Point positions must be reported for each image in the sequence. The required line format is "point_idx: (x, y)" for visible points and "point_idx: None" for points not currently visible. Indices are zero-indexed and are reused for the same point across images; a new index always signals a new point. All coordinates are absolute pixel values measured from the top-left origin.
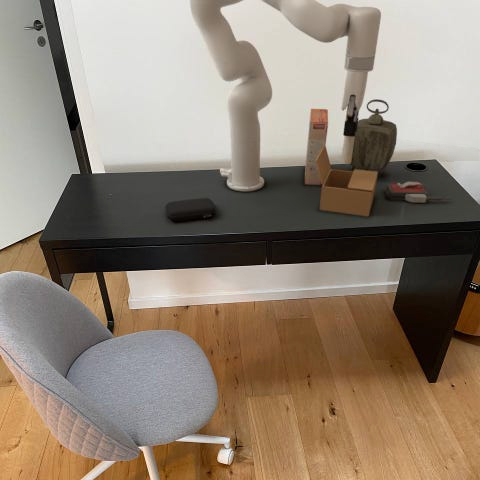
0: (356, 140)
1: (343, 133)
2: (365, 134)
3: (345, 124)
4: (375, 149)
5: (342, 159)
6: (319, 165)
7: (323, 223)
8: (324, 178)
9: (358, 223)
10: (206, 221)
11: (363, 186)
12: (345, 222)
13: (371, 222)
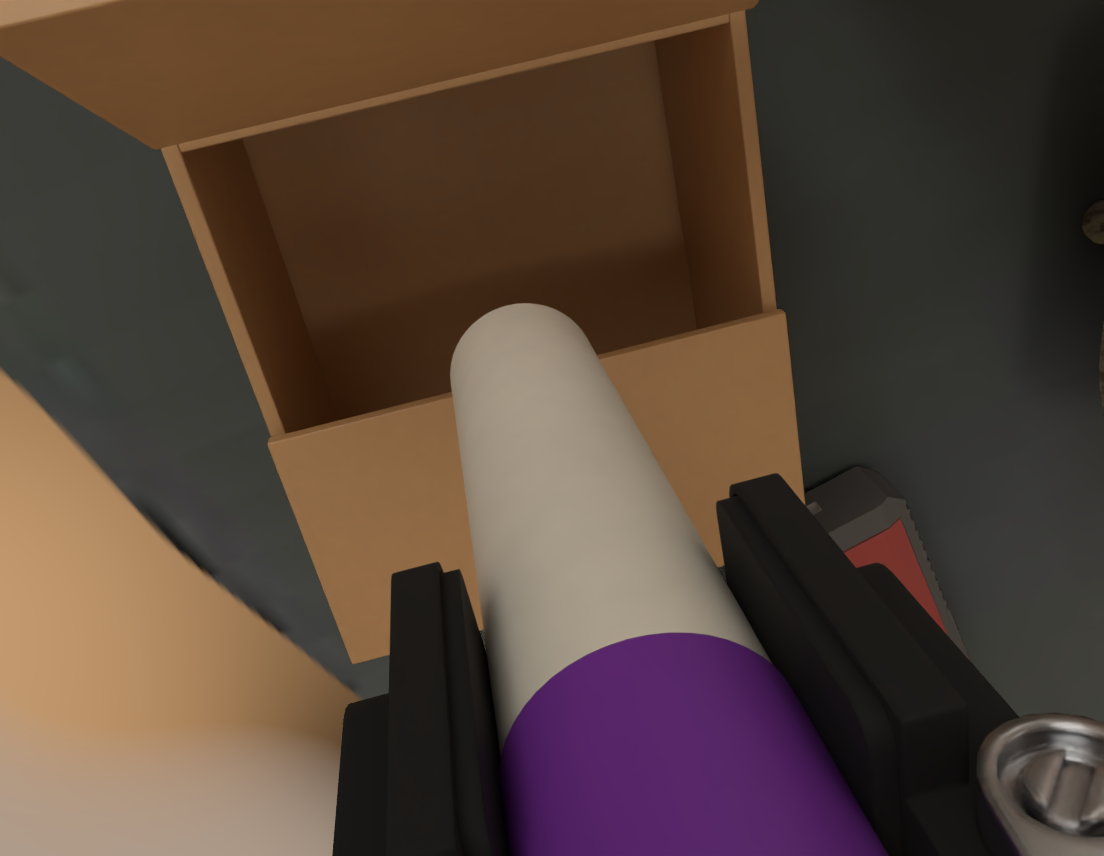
0: None
1: (395, 591)
2: None
3: (396, 797)
4: None
5: (466, 354)
6: (137, 58)
7: (12, 252)
8: (295, 112)
9: (221, 494)
10: None
11: (382, 567)
12: (167, 405)
13: (301, 563)
